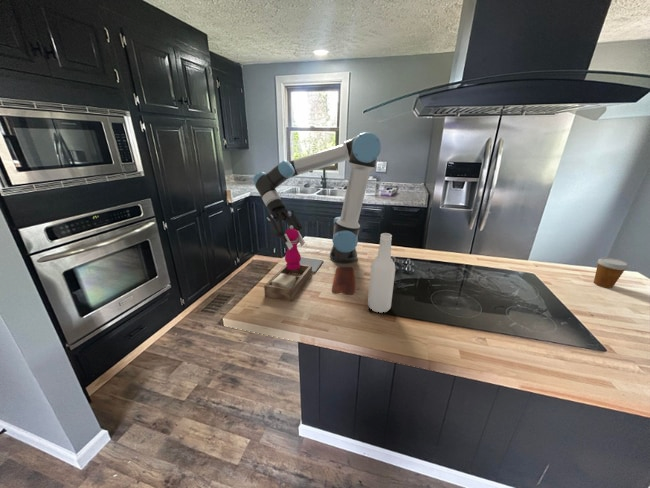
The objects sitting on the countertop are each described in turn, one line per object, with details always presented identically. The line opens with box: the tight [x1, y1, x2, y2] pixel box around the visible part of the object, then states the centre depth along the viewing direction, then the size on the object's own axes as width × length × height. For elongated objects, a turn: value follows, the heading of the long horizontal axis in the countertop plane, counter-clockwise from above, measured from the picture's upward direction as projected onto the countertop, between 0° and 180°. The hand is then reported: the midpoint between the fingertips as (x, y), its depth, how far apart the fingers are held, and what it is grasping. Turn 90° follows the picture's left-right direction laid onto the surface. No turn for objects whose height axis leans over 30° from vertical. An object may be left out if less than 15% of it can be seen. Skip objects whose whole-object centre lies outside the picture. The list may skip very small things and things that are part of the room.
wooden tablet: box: [331, 266, 356, 296], centre depth 124 cm, size 27×10×2 cm, turn 173°
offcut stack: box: [272, 274, 296, 289], centre depth 112 cm, size 9×9×6 cm
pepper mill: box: [284, 225, 302, 270], centre depth 118 cm, size 7×7×20 cm
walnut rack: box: [263, 264, 313, 302], centre depth 117 cm, size 12×24×5 cm, turn 163°
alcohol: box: [367, 232, 396, 314], centre depth 98 cm, size 9×9×30 cm
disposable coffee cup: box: [593, 257, 629, 289], centre depth 119 cm, size 10×10×12 cm
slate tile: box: [299, 256, 324, 274], centre depth 137 cm, size 14×14×1 cm
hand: (297, 246), depth 115 cm, fingers closed on pepper mill, 6 cm apart
